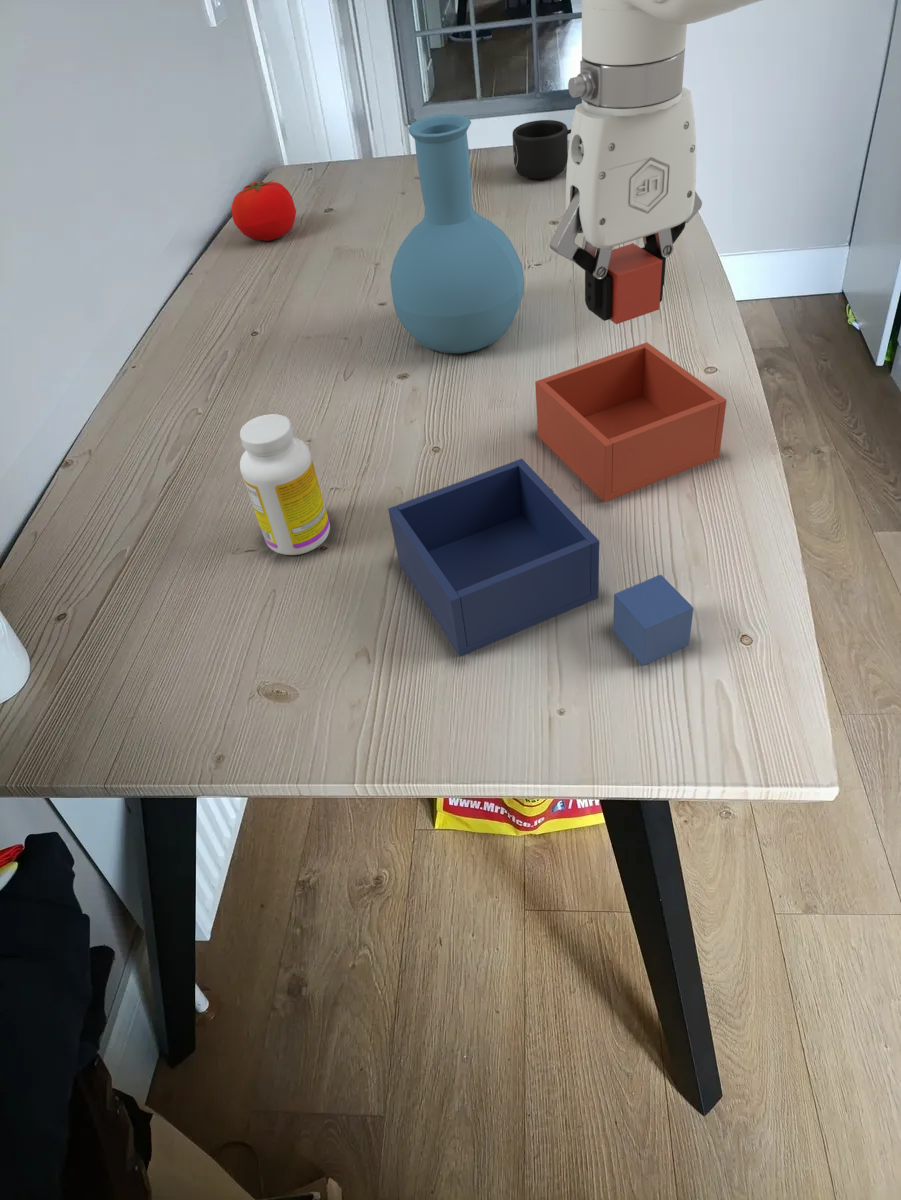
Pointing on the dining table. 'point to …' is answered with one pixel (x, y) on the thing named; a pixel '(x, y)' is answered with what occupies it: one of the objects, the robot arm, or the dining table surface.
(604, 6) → the robot arm
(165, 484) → the dining table surface
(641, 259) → the red block
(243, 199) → the tomato
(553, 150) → the mug
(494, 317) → the vase
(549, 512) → the blue bin
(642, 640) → the blue block
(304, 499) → the supplement bottle
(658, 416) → the red bin
